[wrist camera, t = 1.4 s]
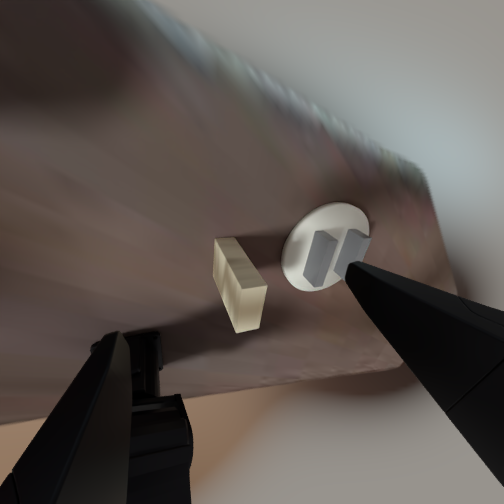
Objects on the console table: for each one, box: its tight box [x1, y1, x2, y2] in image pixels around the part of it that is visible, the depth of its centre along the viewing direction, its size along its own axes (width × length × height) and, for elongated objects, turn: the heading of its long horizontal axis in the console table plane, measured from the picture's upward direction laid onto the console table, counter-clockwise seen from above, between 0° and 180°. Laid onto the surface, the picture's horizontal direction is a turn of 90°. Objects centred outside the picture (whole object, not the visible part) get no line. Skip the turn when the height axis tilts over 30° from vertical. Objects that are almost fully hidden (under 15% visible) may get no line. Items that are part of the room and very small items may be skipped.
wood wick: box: [213, 237, 267, 333], centre depth 21 cm, size 4×2×8 cm, turn 172°
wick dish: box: [281, 202, 372, 291], centre depth 28 cm, size 12×12×4 cm
